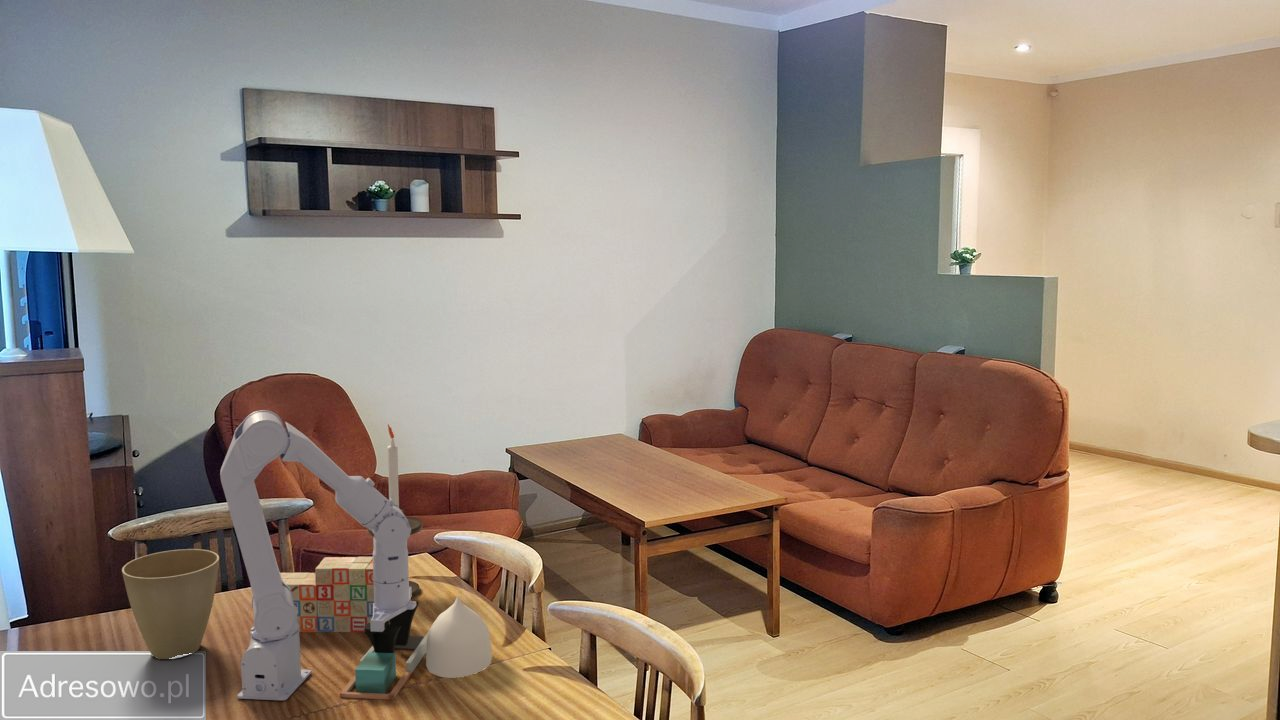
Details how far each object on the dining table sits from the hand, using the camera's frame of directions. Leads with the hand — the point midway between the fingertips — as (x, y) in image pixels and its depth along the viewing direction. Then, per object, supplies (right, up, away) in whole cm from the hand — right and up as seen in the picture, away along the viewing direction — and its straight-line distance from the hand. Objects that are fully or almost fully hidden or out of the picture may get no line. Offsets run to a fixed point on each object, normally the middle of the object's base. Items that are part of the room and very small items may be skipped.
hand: (393, 654), depth 154 cm
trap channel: (0, -1, 0) cm, 1 cm away
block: (-1, -2, -8) cm, 8 cm away
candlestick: (-8, +2, +31) cm, 32 cm away
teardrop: (+11, -2, 0) cm, 11 cm away
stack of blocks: (-16, 0, +15) cm, 22 cm away
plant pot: (-39, -1, +4) cm, 39 cm away
